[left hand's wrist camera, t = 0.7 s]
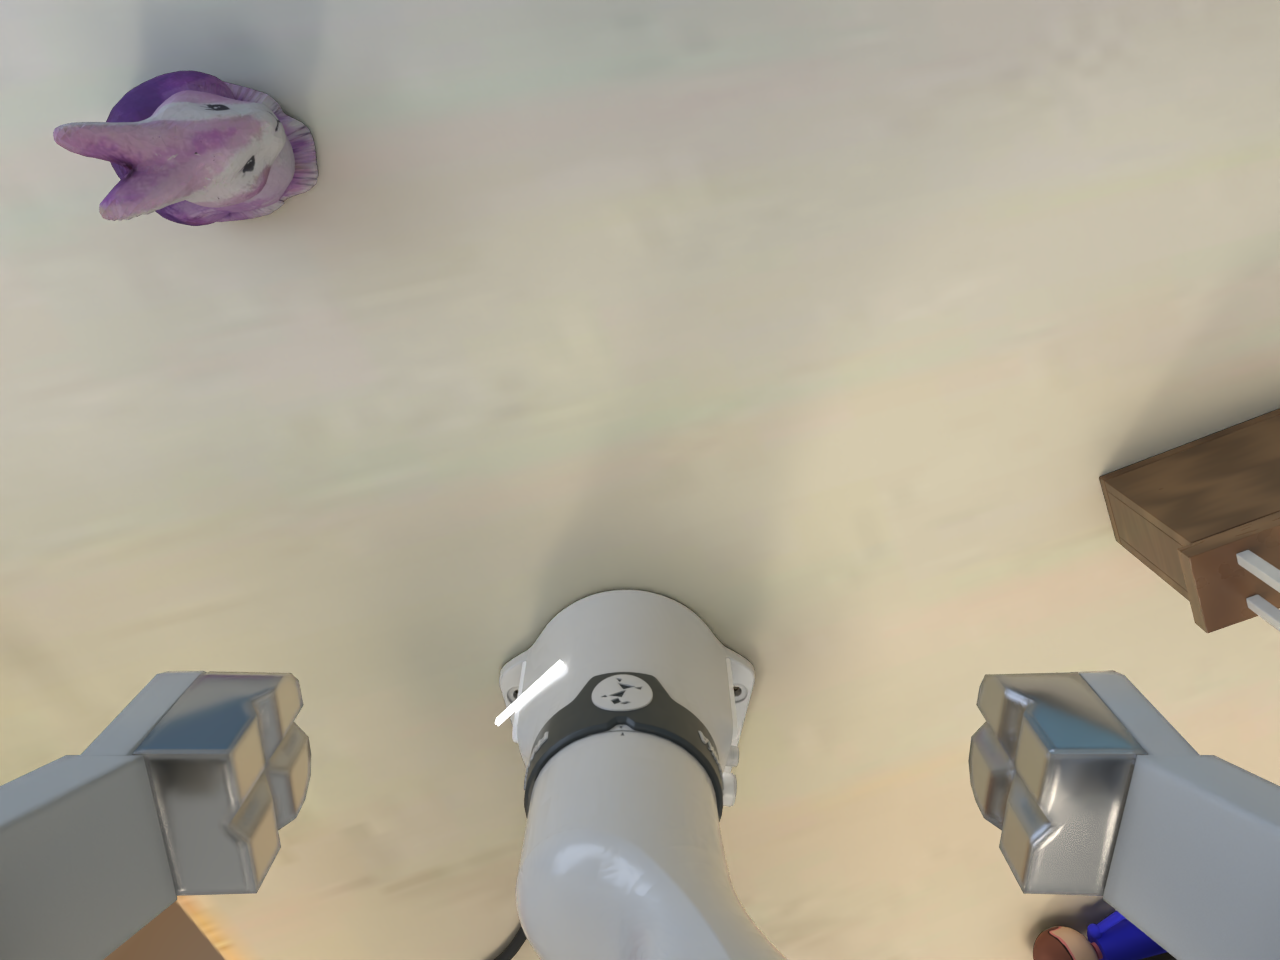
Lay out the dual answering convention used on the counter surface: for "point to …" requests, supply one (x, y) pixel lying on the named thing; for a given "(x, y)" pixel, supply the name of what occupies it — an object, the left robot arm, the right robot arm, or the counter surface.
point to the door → (1235, 575)
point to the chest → (1195, 493)
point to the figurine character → (1099, 942)
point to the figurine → (197, 151)
